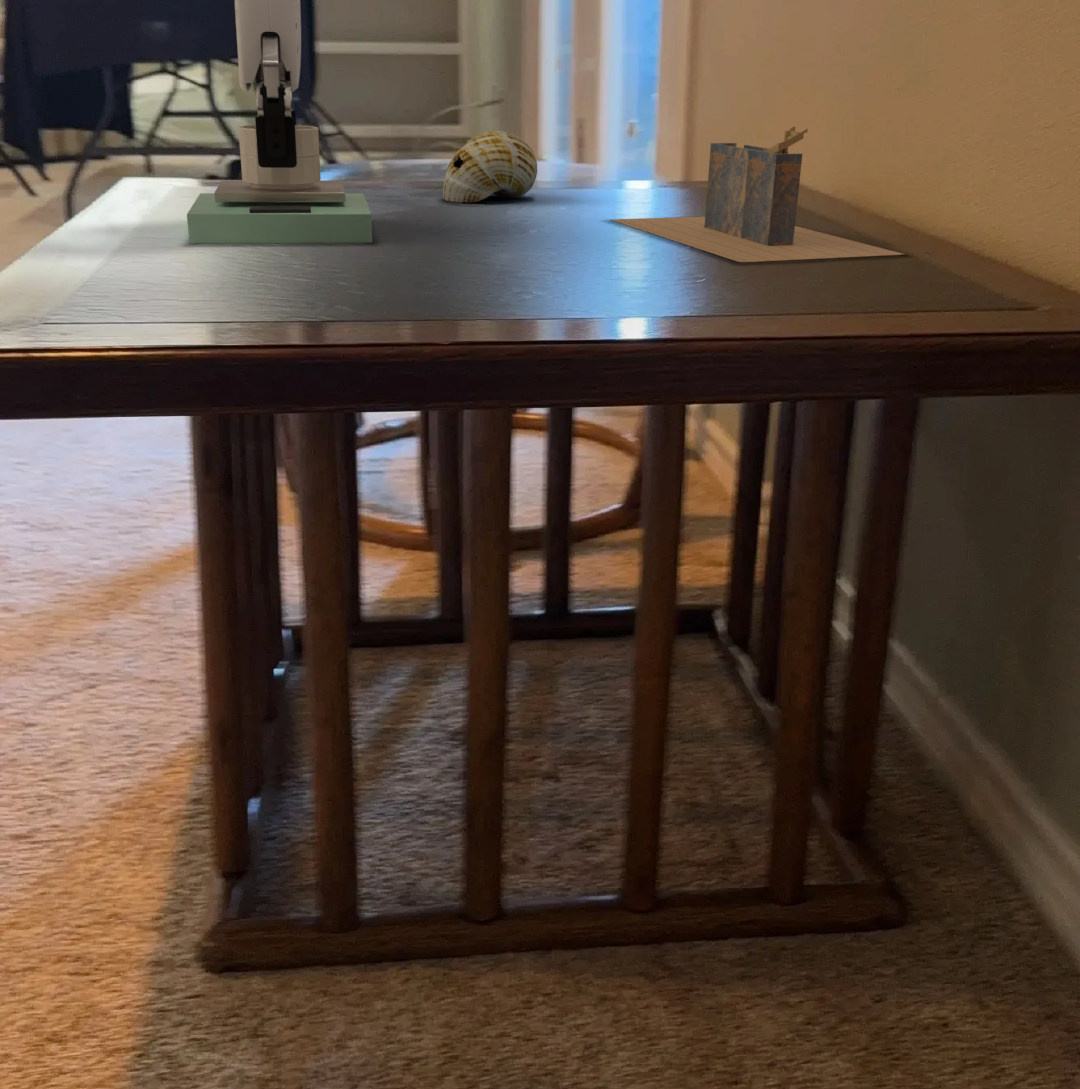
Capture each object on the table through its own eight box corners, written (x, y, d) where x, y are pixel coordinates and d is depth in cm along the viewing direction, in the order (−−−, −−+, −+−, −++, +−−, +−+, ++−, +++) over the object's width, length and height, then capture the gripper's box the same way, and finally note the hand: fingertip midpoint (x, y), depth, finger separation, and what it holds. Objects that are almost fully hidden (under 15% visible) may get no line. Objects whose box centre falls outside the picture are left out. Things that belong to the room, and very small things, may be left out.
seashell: (435, 196, 123) (437, 104, 124) (450, 228, 133) (451, 142, 134) (532, 194, 122) (533, 101, 123) (539, 227, 132) (540, 140, 133)
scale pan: (215, 202, 100) (214, 192, 100) (221, 189, 108) (220, 180, 108) (345, 202, 102) (345, 192, 102) (342, 189, 110) (342, 181, 110)
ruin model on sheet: (906, 254, 101) (923, 134, 97) (740, 262, 95) (751, 135, 91) (753, 215, 122) (762, 115, 118) (609, 219, 116) (614, 114, 112)
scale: (189, 243, 97) (186, 210, 96) (202, 219, 110) (200, 189, 108) (372, 242, 100) (371, 209, 98) (364, 219, 112) (363, 190, 111)
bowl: (241, 190, 101) (236, 129, 99) (244, 182, 107) (240, 123, 105) (321, 191, 102) (318, 130, 100) (320, 182, 108) (317, 124, 107)
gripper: (225, -50, 104) (240, 152, 111) (212, -65, 89) (229, 171, 95) (311, -46, 106) (320, 153, 112) (313, -61, 90) (323, 172, 97)
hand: (279, 161), depth 104 cm, fingers open, 9 cm apart
